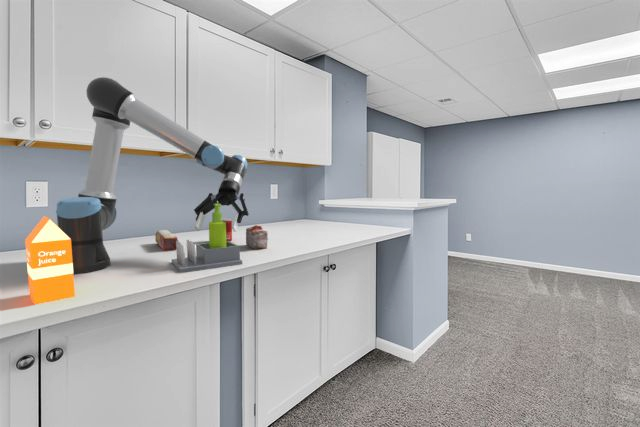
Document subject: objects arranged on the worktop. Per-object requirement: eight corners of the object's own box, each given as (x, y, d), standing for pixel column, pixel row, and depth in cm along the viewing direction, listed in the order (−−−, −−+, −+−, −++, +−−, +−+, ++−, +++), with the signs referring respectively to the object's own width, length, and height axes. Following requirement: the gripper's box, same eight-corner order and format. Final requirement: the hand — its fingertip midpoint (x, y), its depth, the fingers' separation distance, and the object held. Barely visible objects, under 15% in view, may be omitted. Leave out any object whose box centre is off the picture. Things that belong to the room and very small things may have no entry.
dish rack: (180, 272, 101) (179, 247, 100) (171, 262, 114) (170, 240, 113) (242, 264, 112) (241, 241, 111) (227, 255, 125) (227, 235, 125)
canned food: (234, 239, 161) (234, 218, 160) (228, 242, 153) (227, 220, 152) (219, 239, 162) (219, 218, 161) (213, 242, 154) (212, 219, 153)
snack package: (179, 250, 136) (178, 234, 135) (162, 252, 132) (161, 236, 131) (170, 242, 153) (170, 229, 153) (155, 244, 150) (154, 230, 149)
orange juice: (34, 305, 74) (27, 219, 72) (29, 296, 79) (22, 217, 78) (75, 296, 79) (70, 217, 78) (68, 288, 85) (62, 214, 83)
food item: (270, 248, 139) (270, 226, 138) (252, 250, 135) (252, 227, 134) (259, 243, 151) (259, 223, 150) (243, 245, 147) (242, 224, 146)
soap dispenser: (211, 261, 111) (209, 204, 109) (208, 257, 117) (207, 203, 115) (228, 259, 113) (227, 203, 111) (225, 255, 120) (223, 202, 118)
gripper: (263, 192, 127) (252, 235, 114) (203, 192, 130) (186, 234, 117) (259, 179, 122) (246, 223, 108) (197, 179, 124) (177, 222, 111)
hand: (215, 229), depth 112 cm, fingers open, 13 cm apart
